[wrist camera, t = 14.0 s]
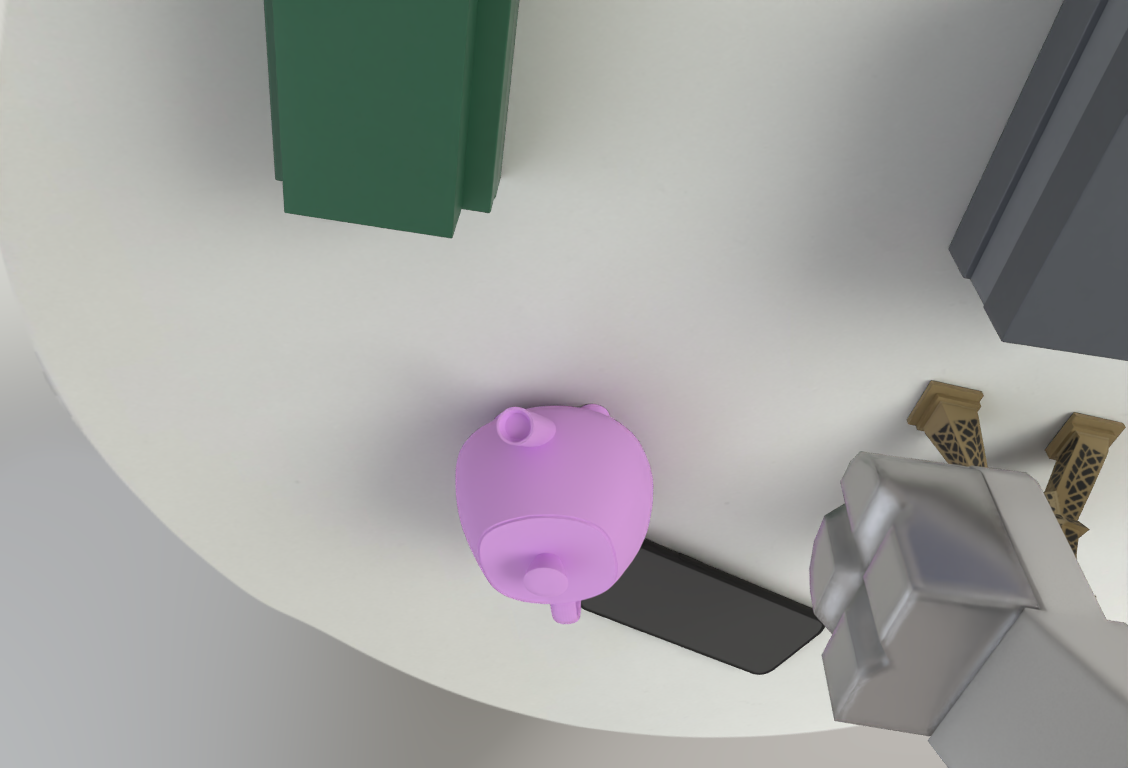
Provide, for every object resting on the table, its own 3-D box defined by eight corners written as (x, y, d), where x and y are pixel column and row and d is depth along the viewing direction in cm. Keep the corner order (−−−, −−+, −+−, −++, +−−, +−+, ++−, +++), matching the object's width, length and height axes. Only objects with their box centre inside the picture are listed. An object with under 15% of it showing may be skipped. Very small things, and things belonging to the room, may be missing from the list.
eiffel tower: (931, 380, 46) (1148, 910, 27) (1123, 423, 47) (1468, 965, 28) (845, 518, 53) (969, 1026, 33) (1015, 554, 54) (1233, 1067, 34)
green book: (285, -189, 29) (260, -178, 27) (490, -154, 29) (479, -141, 27) (302, 183, 37) (283, 213, 35) (461, 208, 37) (452, 238, 35)
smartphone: (763, 680, 62) (569, 606, 57) (762, 668, 62) (570, 594, 58) (835, 623, 57) (631, 539, 53) (832, 611, 58) (630, 527, 54)
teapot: (493, 538, 56) (471, 671, 48) (429, 339, 46) (391, 466, 39) (664, 526, 54) (668, 661, 47) (632, 317, 45) (632, 445, 38)
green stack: (281, -230, 32) (242, -217, 28) (538, -185, 32) (528, -168, 29) (298, 147, 40) (270, 188, 37) (500, 179, 41) (489, 222, 38)
